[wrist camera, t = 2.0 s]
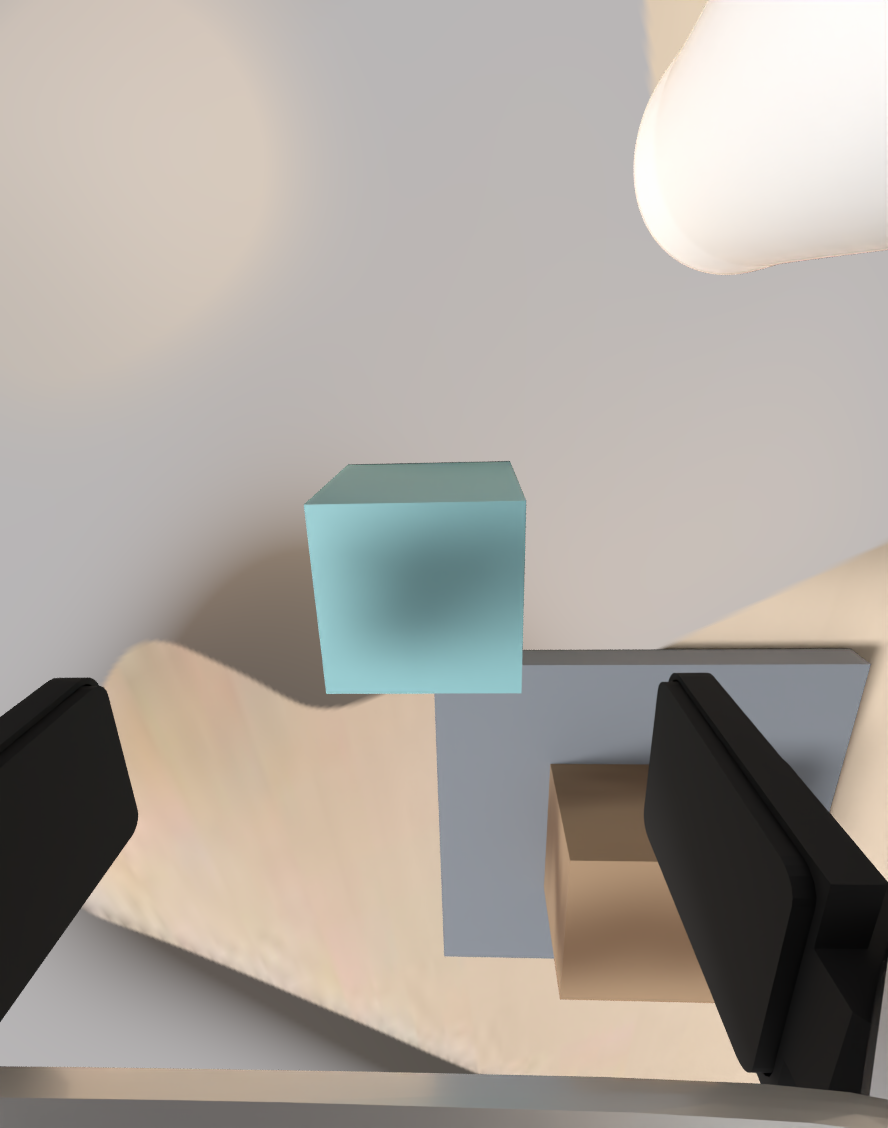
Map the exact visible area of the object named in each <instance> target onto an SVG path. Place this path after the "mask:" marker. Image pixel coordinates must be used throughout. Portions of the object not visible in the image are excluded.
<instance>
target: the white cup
mask: <svg viewBox="0 0 888 1128" xmlns="http://www.w3.org/2000/svg"><path fill="white" fill-rule="evenodd" d="M634 185H635V193H636V198H637V203H638V206H639V210H640V213H641V216H642V218H643V220H644V222H645V225H646V227H647V228H648V230H649V232H650V234H651V235H652V237H653V238H654V239H655V241H656V242H657V243H658V244H659V245H660V247H661V248H662V249H663V250H664V251H665V252H667V253H668V254H669V255H670V256H671V257H672V258H674V259H675V260H677V261H678V262H680V263H682V264H684V265H686V266H687V267H690V268H692V269H695V270H697V271H701V272H705V273H711V274H718V275H733V274H742V273H748V272H753V271H757V270H761V269H764V268H767V267H771V266H775V265H778V264H783V263H790V262H797V261H805V260H812V259H820V258H828V257H835V256H844V255H851V254H859V253H868V252H876V251H883V250H888V0H707V2H706V4H705V6H704V8H703V10H702V11H701V13H700V15H699V17H698V19H697V21H696V23H695V24H694V26H693V28H692V30H691V32H690V34H689V36H688V37H687V39H686V41H685V43H684V45H683V46H682V47H681V49H680V50H679V52H678V53H677V55H676V56H675V58H674V59H673V60H672V62H671V63H670V65H669V66H668V68H667V69H666V71H665V72H664V74H663V75H662V77H661V79H660V80H659V82H658V84H657V86H656V87H655V89H654V91H653V93H652V95H651V97H650V100H649V102H648V104H647V107H646V109H645V112H644V115H643V117H642V121H641V124H640V128H639V131H638V135H637V140H636V146H635V153H634Z"/></svg>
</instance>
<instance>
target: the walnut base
mask: <svg viewBox="0 0 888 1128" xmlns="http://www.w3.org/2000/svg"><path fill="white" fill-rule="evenodd" d="M648 769H649V764H550V779H549V798H548V818H547V837H546V857H545V876H544V892H545V899H546V906H547V913H548V920H549V927H550V933H551V940H552V947H553V954H554V961H555V968H556V975H557V982H558V988H559V995H560V999H568V1000H610V1001H653V1002H695V1003H715V1002H714V1000H713V997H712V995H711V992H710V990H709V987H708V985H707V982H706V980H705V977H704V975H703V973H702V970H701V968H700V965H699V963H698V960H697V958H696V955H695V953H694V950H693V948H692V945H691V943H690V940H689V938H688V935H687V933H686V930H685V928H684V926H683V923H682V921H681V918H680V916H679V913H678V911H677V908H676V906H675V903H674V901H673V898H672V896H671V893H670V891H669V888H668V886H667V884H666V881H665V879H664V876H663V874H662V871H661V869H660V866H659V864H658V861H657V859H656V856H655V854H654V851H653V849H652V846H651V844H650V842H649V839H648V836H647V833H646V830H645V825H644V804H645V795H646V787H647V778H648Z"/></svg>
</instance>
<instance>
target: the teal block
mask: <svg viewBox="0 0 888 1128" xmlns="http://www.w3.org/2000/svg"><path fill="white" fill-rule="evenodd" d="M304 510H305V518H306V527H307V535H308V544H309V552H310V561H311V569H312V577H313V586H314V594H315V602H316V611H317V619H318V628H319V636H320V644H321V653H322V661H323V669H324V678H325V686H326V694H364V693H365V694H422V693H521V689H522V649H523V607H524V568H525V567H524V566H525V528H526V526H525V525H526V499H525V497H524V494H523V492H522V490H521V487H520V485H519V482H518V480H517V477H516V475H515V472H514V470H513V468H512V465H511V463H510V461H495V462H494V461H490V462H444V463H443V462H441V463H397V464H396V463H395V464H348V465H347V466H346V467H345V468H344V469H343V470H342V471H340V472H339V473H338V474H337V475H336V476H335V477H334V478H333V479H332V480H331V481H330V482H328V483H327V484H326V485H325V486H324V487H323V488H322V489H321V490H320V491H318V492H317V493H316V494H315V495H314V496H313V497H312V498H311V499H310V500H308V501H307V502H306V503H305V504H304Z"/></svg>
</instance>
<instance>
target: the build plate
mask: <svg viewBox="0 0 888 1128" xmlns="http://www.w3.org/2000/svg"><path fill="white" fill-rule="evenodd" d="M870 665H871V664H870V663H868V662H867V661H866V660H865V659H863V658H862V657H861V656H859V655H858V654H857V653H855V652H854V651H853V650H851V649H667V650H522V689H521V693H434V694H435V721H436V747H437V774H438V801H439V827H440V854H441V881H442V907H443V934H444V956H458V957H507V958H554V954H553V947H552V940H551V933H550V927H549V920H548V913H547V906H546V899H545V892H544V876H545V857H546V837H547V818H548V798H549V779H550V764H649V761H650V752H651V743H652V735H653V726H654V717H655V709H656V700H657V692H658V686H659V684H660V683H661V682H669V678H670V676H671V675H672V674H673V673H710V674H712V675H713V676H714V677H715V678H716V680H717V681H718V682H719V683H720V684H721V686H722V687H723V688H724V689H725V690H726V692H727V693H728V694H729V695H730V696H731V698H732V699H733V700H734V701H735V702H736V704H737V705H738V706H739V707H740V708H741V710H742V711H743V712H744V713H745V714H746V715H747V717H748V718H749V719H750V720H751V721H752V723H753V724H754V725H755V726H756V727H757V729H758V730H759V731H760V732H761V733H762V735H763V736H764V737H765V738H766V739H767V741H768V742H769V743H770V744H771V745H772V747H773V748H774V749H775V750H776V751H777V753H778V754H779V755H780V756H781V757H782V759H784V760H785V761H786V762H787V763H788V764H789V765H790V766H791V767H792V769H793V770H794V771H795V772H796V773H797V775H798V776H799V777H800V778H801V779H802V781H803V782H804V783H805V784H806V785H807V787H808V788H809V789H810V790H811V791H812V792H813V794H814V795H815V796H816V797H817V798H818V800H819V801H820V802H821V803H822V804H823V806H824V807H825V808H826V809H827V810H828V812H829V811H830V808H831V804H832V800H833V797H834V793H835V790H836V786H837V783H838V779H839V776H840V772H841V768H842V765H843V761H844V758H845V754H846V751H847V747H848V744H849V740H850V736H851V733H852V729H853V726H854V722H855V719H856V715H857V712H858V708H859V704H860V701H861V697H862V694H863V690H864V687H865V683H866V679H867V676H868V672H869V669H870Z"/></svg>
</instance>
